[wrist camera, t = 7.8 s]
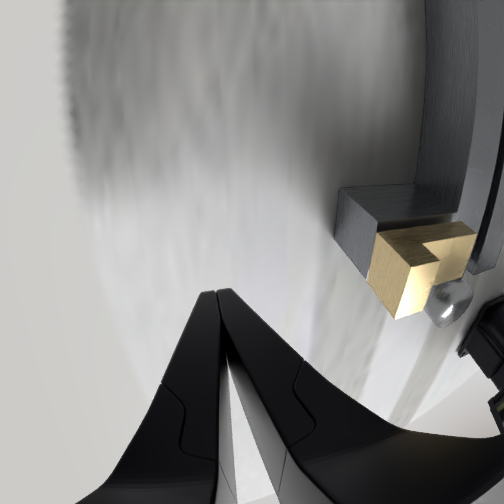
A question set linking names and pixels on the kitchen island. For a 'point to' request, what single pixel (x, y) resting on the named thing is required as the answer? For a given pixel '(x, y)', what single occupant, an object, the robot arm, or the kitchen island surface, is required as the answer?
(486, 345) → the robot arm
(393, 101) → the kitchen island surface
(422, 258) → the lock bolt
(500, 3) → the tong base
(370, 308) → the kitchen island surface
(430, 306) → the tong arm
